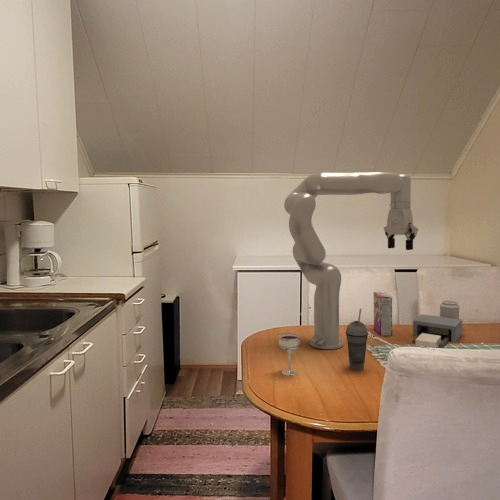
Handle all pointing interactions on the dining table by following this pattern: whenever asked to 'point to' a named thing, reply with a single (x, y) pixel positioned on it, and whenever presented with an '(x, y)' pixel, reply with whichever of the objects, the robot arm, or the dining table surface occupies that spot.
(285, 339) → the wineglass
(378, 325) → the candy bar box
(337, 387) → the dining table surface
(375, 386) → the dining table surface
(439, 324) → the low shelf
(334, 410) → the dining table surface
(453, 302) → the can
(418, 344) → the cream rectangular block
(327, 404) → the dining table surface
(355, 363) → the beverage cup
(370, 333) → the fork
